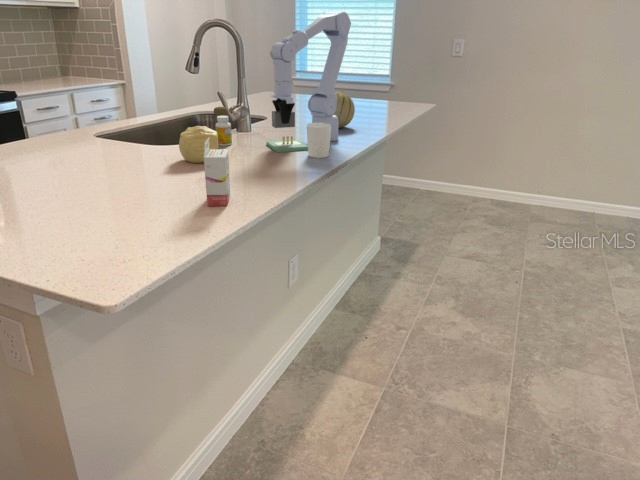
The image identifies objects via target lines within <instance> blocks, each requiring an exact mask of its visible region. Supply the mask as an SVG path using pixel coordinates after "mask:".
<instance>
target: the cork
mask: <svg viewBox="0 0 640 480" xmlns="http://www.w3.org/2000/svg"><path fill="white" fill-rule="evenodd" d="M213 114H214V116H215V117H214V118H215V119H214V131H216V126H215V125H216V123H218V121H217V116H229V115H228V114H229V110H228V108H227V107H225V106H217V107H214V109H213Z"/></svg>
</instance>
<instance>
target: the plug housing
mask: <svg viewBox="0 0 640 480" xmlns="http://www.w3.org/2000/svg"><path fill="white" fill-rule="evenodd" d="M271 126H272V127H273V128H274V129H279V128H280V129H282V128H295V127H296V112H295V111H294V110H292V112H291V115H290V120H289V123H288V124H283V123H282V119H281V112H280V111H276V110H272V111H271Z"/></svg>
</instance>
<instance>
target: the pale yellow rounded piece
mask: <svg viewBox="0 0 640 480" xmlns="http://www.w3.org/2000/svg"><path fill="white" fill-rule="evenodd" d="M208 137H209V150H210V149H219V145H218V135H217V132H216V131H215V129H212V128H209V127H207V126H205V125H203V126H202V125H201V126H200V125H196V126H191V127H190V126H188V127H187V128H186V129H185V131H182V132H181V133H180V137H179V141H178V147H179V151H180V155H181V156H182V157H183V159H184V160H185V161H187V162H189V163H194V164H200V163H202V164H204V143H205V142H206V140H207V139H208ZM206 148H207V146H206Z"/></svg>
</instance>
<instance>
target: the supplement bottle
mask: <svg viewBox="0 0 640 480" xmlns="http://www.w3.org/2000/svg"><path fill="white" fill-rule="evenodd" d="M229 120H230V119H229V115H227V116H217V121H218V123H216V125H215V124H214V127H215V126H216V132H217V135H218V146H221V147H228V146H232V144H233V137H232V124H231V122H229Z"/></svg>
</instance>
